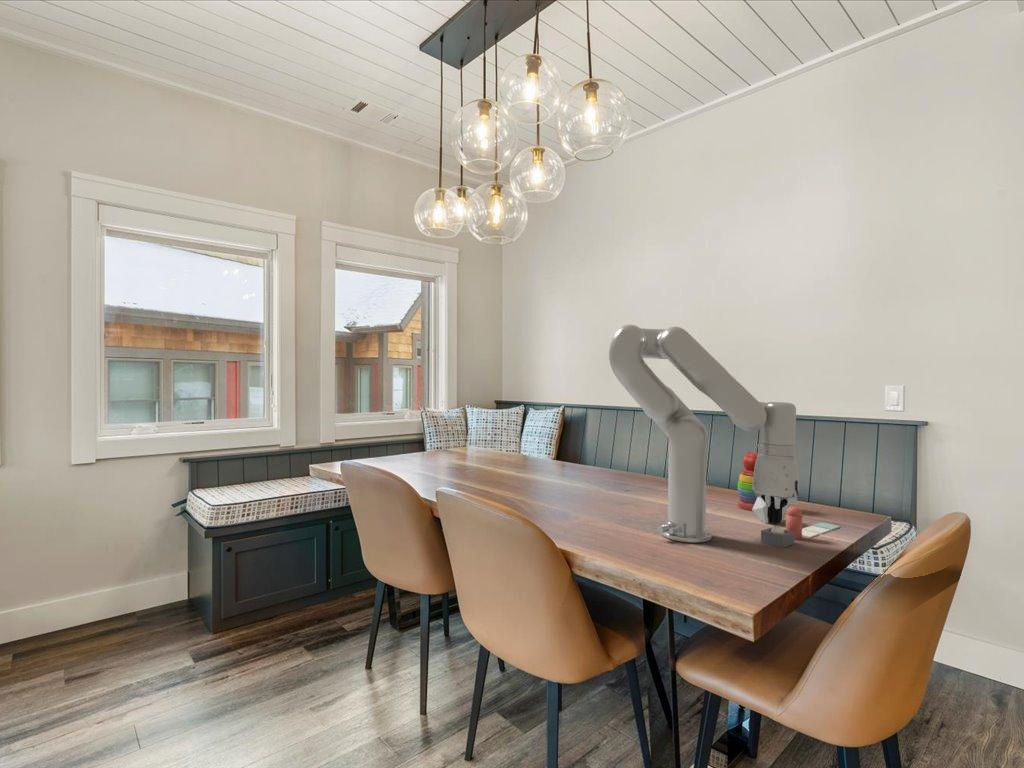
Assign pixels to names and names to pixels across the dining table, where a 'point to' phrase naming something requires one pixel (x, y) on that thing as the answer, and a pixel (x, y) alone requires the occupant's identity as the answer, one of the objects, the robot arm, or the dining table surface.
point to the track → (813, 531)
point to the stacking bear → (747, 482)
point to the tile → (826, 526)
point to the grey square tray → (777, 538)
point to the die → (765, 510)
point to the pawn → (794, 522)
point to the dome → (777, 530)
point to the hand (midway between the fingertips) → (774, 522)
